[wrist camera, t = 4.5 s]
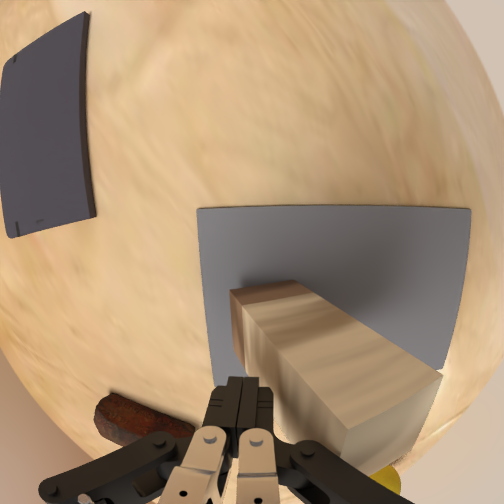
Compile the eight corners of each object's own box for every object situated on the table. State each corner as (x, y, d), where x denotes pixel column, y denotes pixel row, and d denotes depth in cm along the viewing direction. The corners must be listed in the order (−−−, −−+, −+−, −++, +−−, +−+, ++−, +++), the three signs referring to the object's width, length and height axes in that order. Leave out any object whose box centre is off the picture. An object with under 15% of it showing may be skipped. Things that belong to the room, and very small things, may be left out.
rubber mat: (197, 208, 22) (196, 209, 21) (468, 209, 20) (471, 209, 20) (215, 384, 25) (214, 386, 25) (441, 366, 24) (442, 368, 23)
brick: (197, 423, 27) (187, 454, 23) (191, 442, 28) (182, 471, 23) (108, 387, 27) (89, 413, 22) (108, 409, 28) (92, 433, 23)
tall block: (229, 289, 20) (347, 429, 7) (293, 279, 22) (443, 375, 9) (233, 350, 22) (326, 496, 9) (292, 337, 23) (411, 450, 10)
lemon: (344, 474, 28) (352, 520, 21) (366, 451, 27) (379, 501, 19) (377, 474, 28) (389, 517, 21) (400, 451, 27) (416, 496, 19)
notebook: (99, 216, 23) (92, 16, 18) (90, 218, 21) (84, 10, 17) (16, 237, 24) (11, 65, 19) (7, 240, 22) (3, 63, 18)
